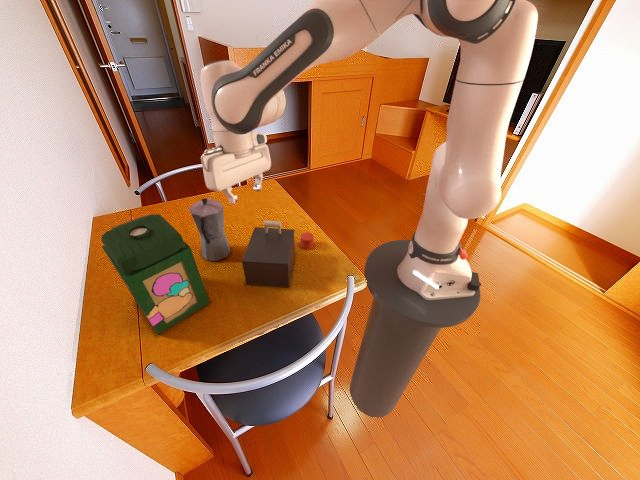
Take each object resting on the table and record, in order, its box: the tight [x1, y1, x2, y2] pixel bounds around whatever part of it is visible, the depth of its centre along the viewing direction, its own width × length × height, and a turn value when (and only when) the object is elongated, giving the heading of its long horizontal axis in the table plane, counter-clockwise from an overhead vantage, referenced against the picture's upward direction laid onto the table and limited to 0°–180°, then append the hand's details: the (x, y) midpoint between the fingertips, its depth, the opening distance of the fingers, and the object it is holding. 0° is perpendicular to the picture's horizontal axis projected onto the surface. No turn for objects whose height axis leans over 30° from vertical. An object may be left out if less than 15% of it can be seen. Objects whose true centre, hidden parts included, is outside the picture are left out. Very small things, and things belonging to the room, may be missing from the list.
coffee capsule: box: [300, 231, 315, 250], centre depth 94 cm, size 4×4×4 cm
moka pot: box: [188, 197, 231, 262], centre depth 84 cm, size 10×15×20 cm, turn 14°
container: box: [101, 213, 211, 336], centre depth 67 cm, size 15×18×25 cm
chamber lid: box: [241, 220, 296, 266], centre depth 79 cm, size 15×13×5 cm
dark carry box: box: [241, 236, 296, 288], centre depth 84 cm, size 15×13×9 cm
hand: (246, 196), depth 73 cm, fingers open, 8 cm apart
